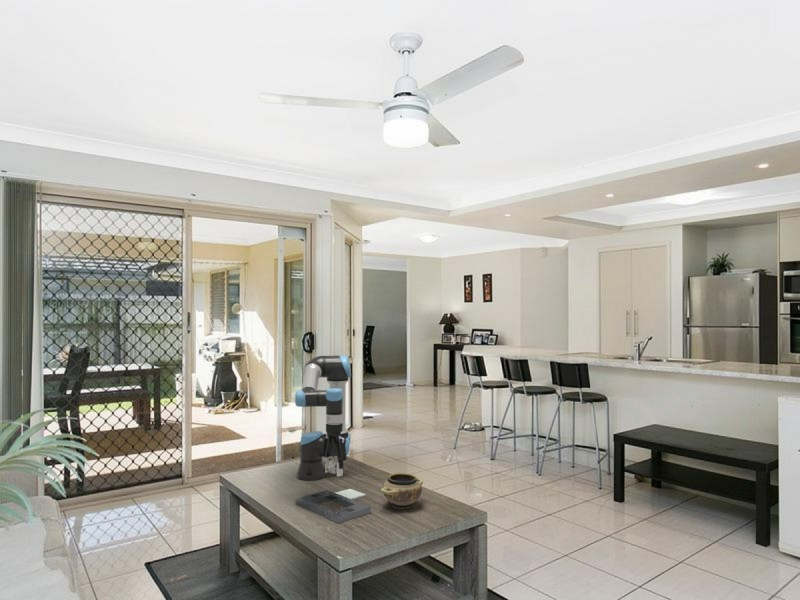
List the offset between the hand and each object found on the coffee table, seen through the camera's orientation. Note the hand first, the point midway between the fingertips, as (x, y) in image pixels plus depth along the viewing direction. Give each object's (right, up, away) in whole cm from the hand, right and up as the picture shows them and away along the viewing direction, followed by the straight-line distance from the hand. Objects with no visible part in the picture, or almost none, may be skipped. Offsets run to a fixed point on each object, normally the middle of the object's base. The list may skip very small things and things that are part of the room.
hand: (333, 473), depth 244 cm
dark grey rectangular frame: (0, -15, -2) cm, 15 cm away
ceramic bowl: (+31, -15, +1) cm, 34 cm away
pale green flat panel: (+5, -15, +15) cm, 22 cm away
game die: (0, -1, 0) cm, 1 cm away
